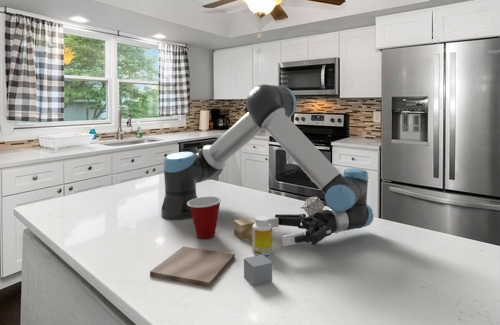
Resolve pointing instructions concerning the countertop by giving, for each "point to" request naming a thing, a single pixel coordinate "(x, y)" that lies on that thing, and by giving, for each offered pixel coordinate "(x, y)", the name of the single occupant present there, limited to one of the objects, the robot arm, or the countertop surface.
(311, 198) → the game die
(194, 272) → the walnut board
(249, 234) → the oak block
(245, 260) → the slate block
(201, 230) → the plastic cup
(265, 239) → the supplement bottle
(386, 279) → the countertop surface
